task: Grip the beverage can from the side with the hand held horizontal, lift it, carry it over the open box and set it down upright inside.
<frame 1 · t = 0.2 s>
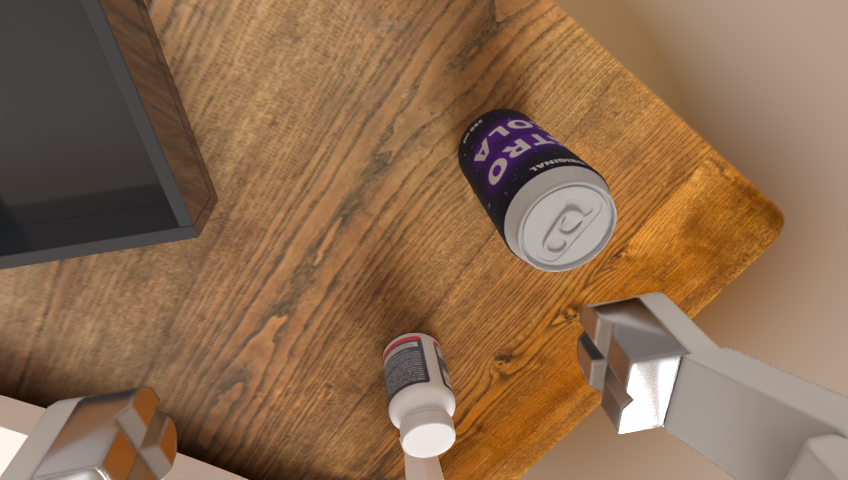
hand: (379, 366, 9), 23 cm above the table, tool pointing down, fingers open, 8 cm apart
beverage can: (494, 145, 32), on the table
open box: (33, 100, 26), on the table
perfume bottle: (415, 438, 47), on the table
pill bottle: (411, 351, 41), on the table
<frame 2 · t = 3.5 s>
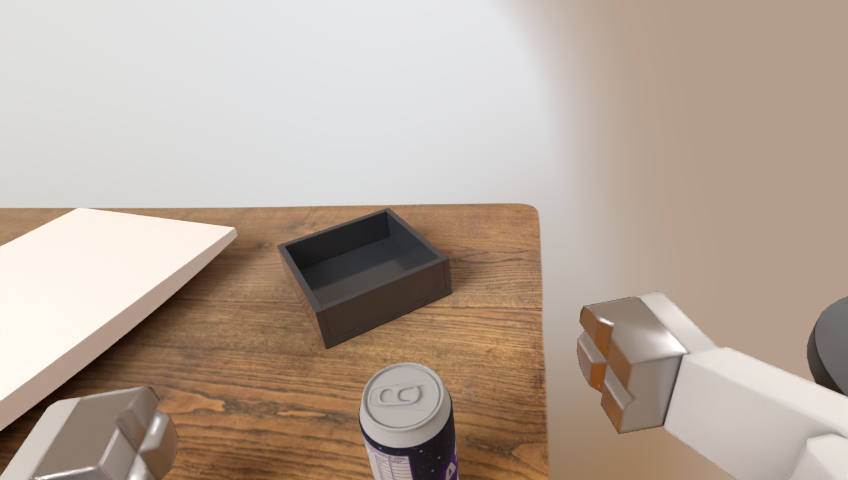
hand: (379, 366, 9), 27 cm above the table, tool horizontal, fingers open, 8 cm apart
open box: (365, 285, 56), on the table
board: (10, 345, 53), on the table
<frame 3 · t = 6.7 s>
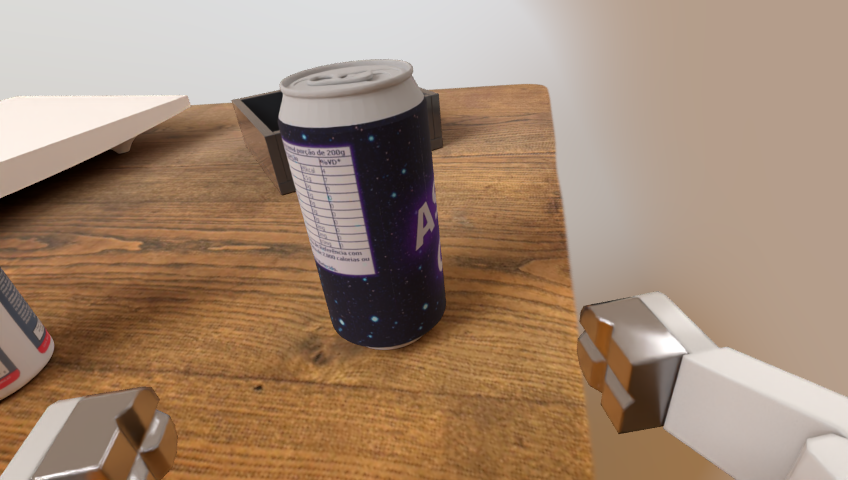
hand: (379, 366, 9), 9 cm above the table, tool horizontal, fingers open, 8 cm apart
beverage can: (391, 322, 23), on the table
open box: (338, 146, 46), on the table
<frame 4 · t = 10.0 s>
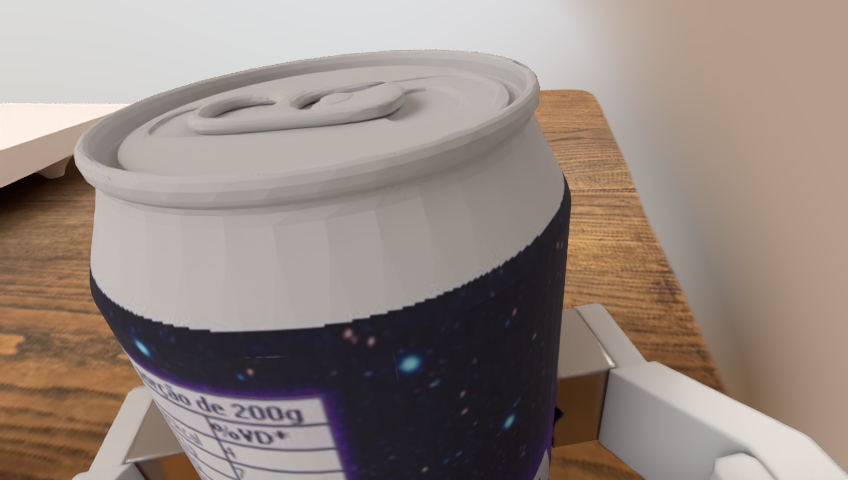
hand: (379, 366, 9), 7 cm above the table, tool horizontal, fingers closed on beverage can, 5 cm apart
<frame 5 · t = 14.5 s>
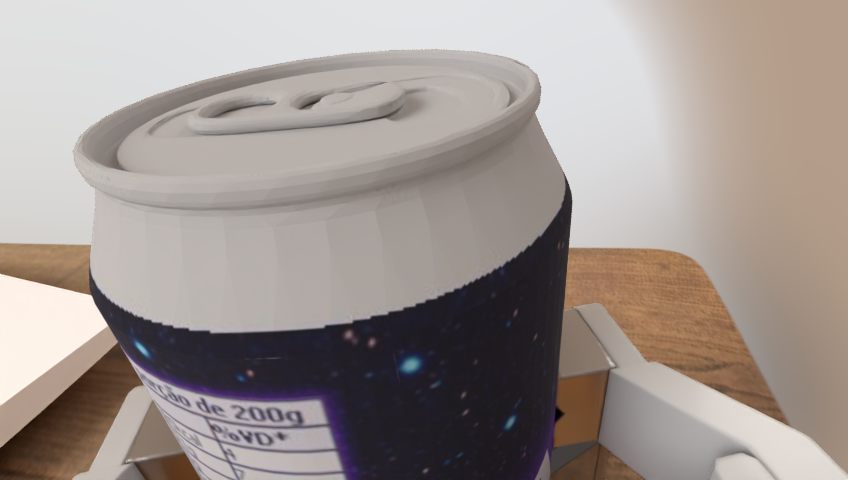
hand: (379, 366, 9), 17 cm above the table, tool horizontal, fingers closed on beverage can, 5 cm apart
open box: (393, 451, 26), on the table
when the fingers open (8 cm above the table, at t = 19.0 s): beverage can stays where it is, resting on open box.
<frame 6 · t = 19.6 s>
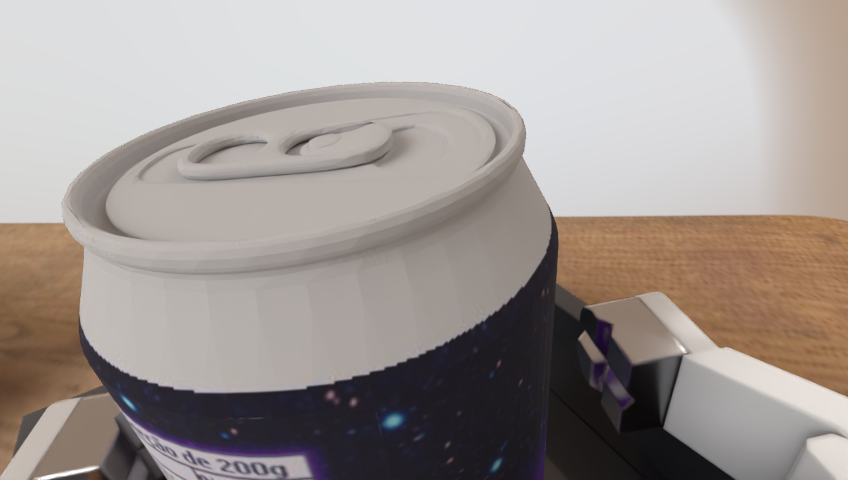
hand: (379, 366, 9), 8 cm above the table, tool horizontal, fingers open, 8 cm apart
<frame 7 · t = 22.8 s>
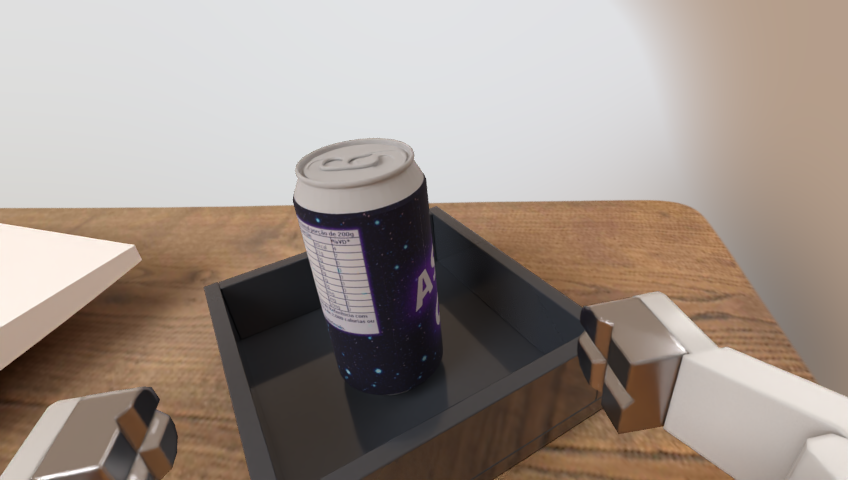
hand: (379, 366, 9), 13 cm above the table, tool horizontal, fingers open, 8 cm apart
beverage can: (393, 367, 25), point 1 cm above the table, touching open box
open box: (396, 375, 26), on the table
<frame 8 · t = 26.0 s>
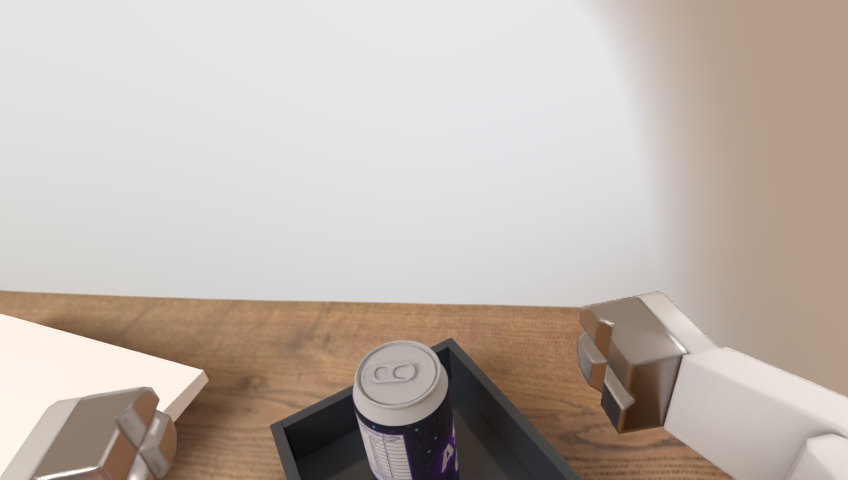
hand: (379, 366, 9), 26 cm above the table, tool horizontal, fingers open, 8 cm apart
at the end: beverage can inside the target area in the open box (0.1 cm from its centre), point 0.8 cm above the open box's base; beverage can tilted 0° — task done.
